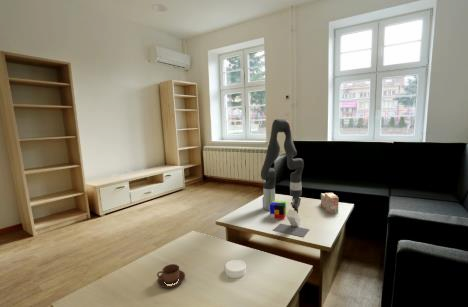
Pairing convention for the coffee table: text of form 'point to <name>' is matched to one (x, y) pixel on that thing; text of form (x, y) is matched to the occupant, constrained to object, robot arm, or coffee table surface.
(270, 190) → the robot arm
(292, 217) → the tall block
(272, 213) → the puzzle toy
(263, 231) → the coffee table surface
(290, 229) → the mat
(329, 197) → the stack of blocks
